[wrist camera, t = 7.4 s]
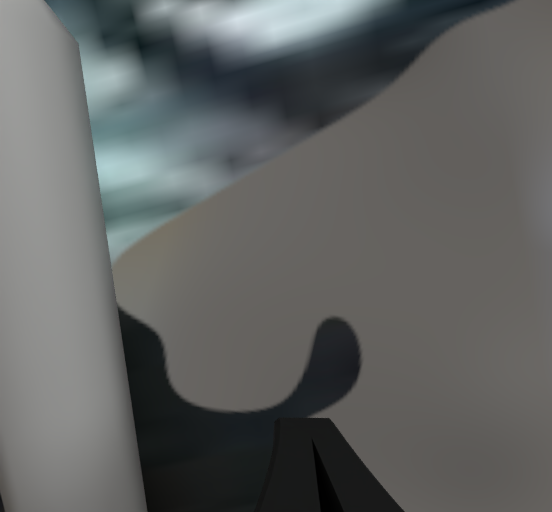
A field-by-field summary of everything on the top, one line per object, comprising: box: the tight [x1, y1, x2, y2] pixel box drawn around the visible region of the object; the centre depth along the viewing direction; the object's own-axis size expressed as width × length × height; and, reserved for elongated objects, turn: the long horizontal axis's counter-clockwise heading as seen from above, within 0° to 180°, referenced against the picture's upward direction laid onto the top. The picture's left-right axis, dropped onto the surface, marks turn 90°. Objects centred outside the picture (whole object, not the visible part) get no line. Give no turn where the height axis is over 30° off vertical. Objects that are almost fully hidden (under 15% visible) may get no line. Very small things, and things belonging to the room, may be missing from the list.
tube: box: [0, 0, 147, 512], centre depth 15 cm, size 5×5×25 cm
